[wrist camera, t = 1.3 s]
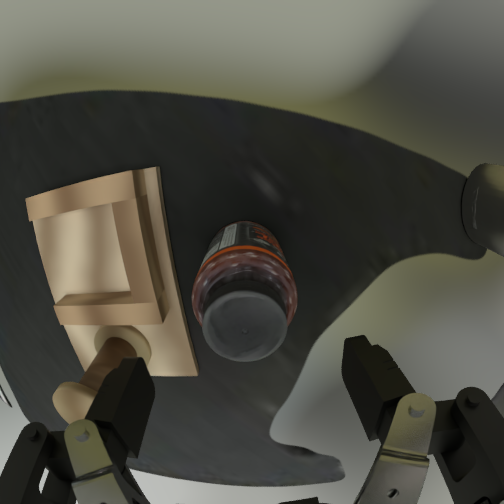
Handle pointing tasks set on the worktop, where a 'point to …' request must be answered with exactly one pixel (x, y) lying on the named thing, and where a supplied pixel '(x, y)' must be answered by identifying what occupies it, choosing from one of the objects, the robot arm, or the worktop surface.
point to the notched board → (114, 265)
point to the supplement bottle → (244, 293)
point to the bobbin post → (100, 368)
